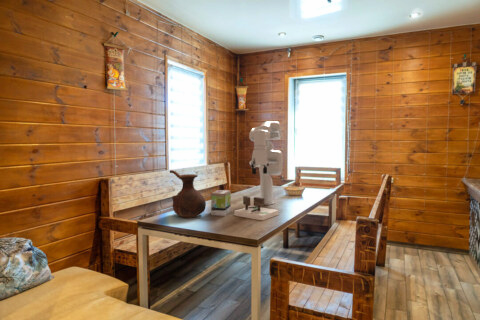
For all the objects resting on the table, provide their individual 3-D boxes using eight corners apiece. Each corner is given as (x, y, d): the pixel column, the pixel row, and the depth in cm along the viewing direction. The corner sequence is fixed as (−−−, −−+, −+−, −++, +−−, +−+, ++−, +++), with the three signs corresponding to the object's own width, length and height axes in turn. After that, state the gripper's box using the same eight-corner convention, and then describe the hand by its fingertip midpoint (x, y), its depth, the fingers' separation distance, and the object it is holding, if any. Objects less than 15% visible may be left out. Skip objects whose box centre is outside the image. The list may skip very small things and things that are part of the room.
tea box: (225, 216, 204) (225, 193, 203) (210, 215, 206) (210, 193, 205) (231, 211, 219) (230, 189, 218) (217, 210, 221) (216, 189, 220)
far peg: (247, 210, 205) (247, 197, 205) (243, 208, 212) (243, 196, 211) (259, 209, 209) (259, 197, 208) (255, 207, 215) (255, 195, 214)
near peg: (255, 209, 208) (255, 197, 208) (264, 210, 204) (264, 198, 203) (247, 211, 201) (247, 199, 201) (256, 213, 197) (256, 200, 196)
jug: (187, 210, 221) (186, 167, 219) (212, 214, 210) (211, 169, 208) (164, 217, 202) (164, 170, 200) (191, 221, 191) (190, 172, 189)
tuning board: (251, 210, 221) (251, 205, 221) (278, 214, 207) (278, 209, 207) (234, 215, 206) (234, 210, 206) (262, 220, 192) (262, 215, 192)
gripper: (265, 148, 219) (265, 173, 220) (246, 148, 209) (246, 174, 209) (273, 148, 213) (272, 173, 214) (253, 148, 203) (253, 174, 203)
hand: (259, 173), depth 212 cm, fingers open, 9 cm apart
